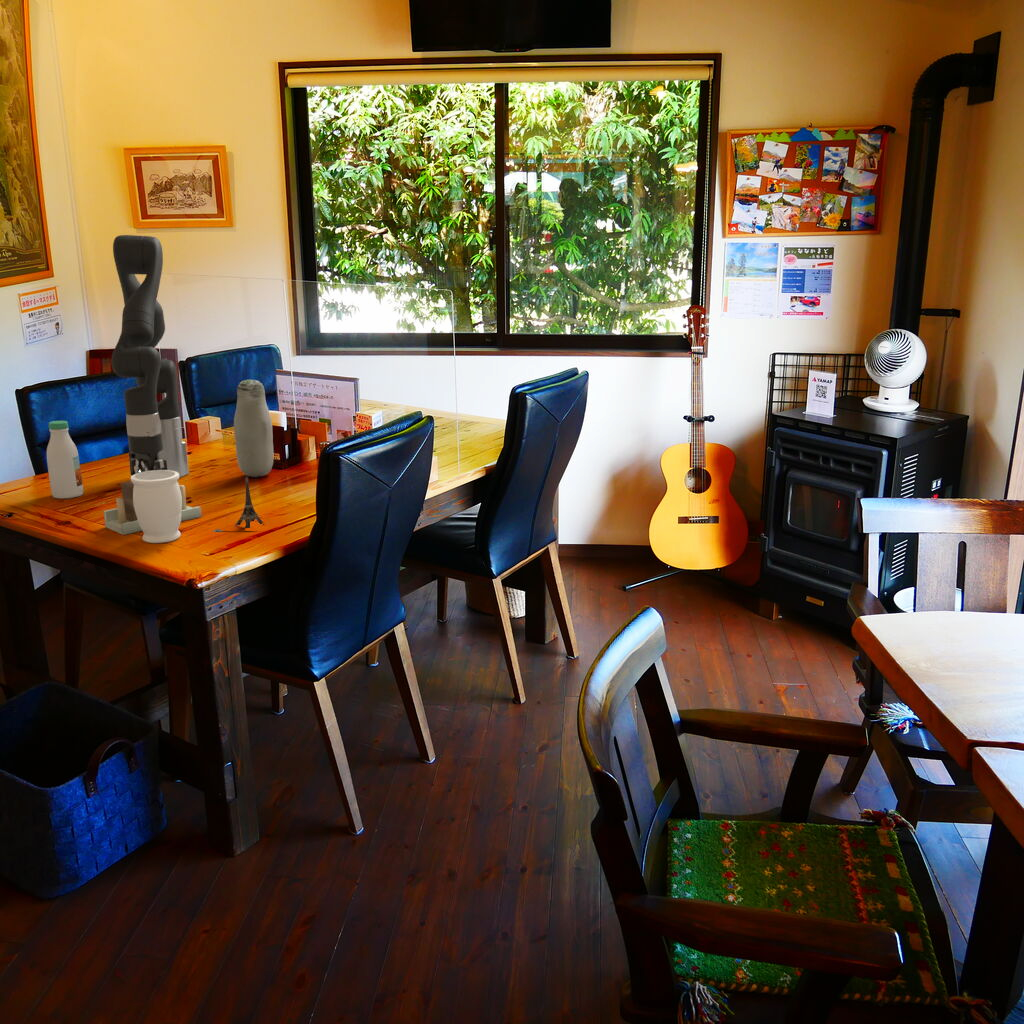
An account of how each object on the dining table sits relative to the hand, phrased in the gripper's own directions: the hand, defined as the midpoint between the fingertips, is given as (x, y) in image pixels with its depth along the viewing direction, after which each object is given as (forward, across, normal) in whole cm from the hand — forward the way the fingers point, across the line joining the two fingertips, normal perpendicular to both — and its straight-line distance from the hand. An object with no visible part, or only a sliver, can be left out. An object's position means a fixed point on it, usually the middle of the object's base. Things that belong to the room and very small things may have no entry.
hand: (151, 497), depth 222 cm
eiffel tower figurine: (+7, +20, +14) cm, 25 cm away
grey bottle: (+6, -20, +42) cm, 47 cm away
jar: (+6, +13, -5) cm, 15 cm away
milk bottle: (+6, -39, -4) cm, 40 cm away
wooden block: (+5, 0, 0) cm, 5 cm away
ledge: (+6, 0, 0) cm, 6 cm away
